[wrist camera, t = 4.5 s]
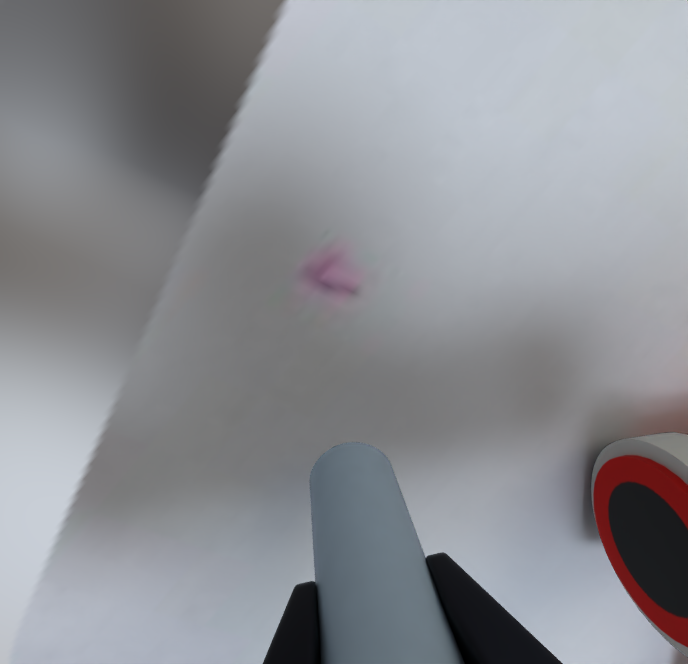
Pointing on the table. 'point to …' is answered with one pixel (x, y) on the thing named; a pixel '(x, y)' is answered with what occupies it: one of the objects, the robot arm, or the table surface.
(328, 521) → the orange-capped peg
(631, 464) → the toy hammer
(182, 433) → the table surface
